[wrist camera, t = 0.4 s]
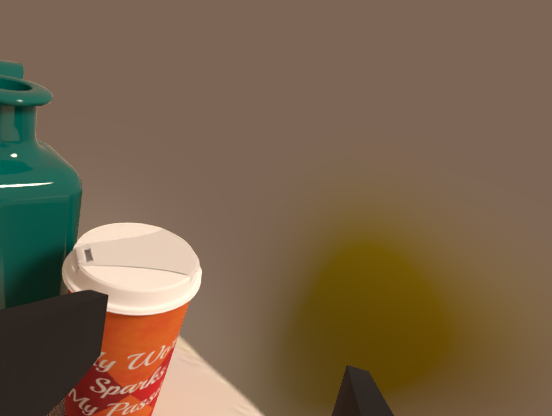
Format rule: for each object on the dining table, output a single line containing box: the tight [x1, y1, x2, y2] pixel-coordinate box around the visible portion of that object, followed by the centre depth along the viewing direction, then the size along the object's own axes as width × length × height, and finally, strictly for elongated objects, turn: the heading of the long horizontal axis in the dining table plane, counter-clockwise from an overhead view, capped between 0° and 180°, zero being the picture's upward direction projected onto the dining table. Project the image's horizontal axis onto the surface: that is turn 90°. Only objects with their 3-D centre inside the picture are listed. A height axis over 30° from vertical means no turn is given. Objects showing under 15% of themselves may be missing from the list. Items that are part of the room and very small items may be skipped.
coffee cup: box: [62, 223, 202, 416], centre depth 27 cm, size 8×8×15 cm
